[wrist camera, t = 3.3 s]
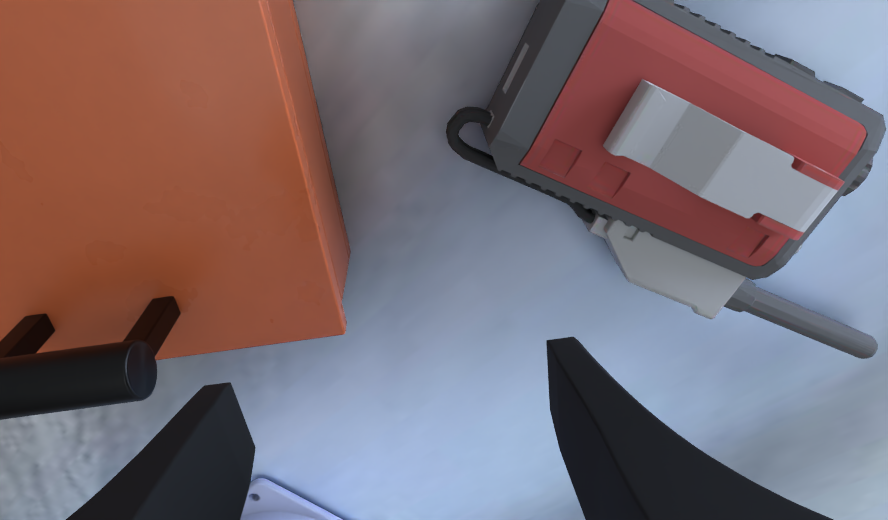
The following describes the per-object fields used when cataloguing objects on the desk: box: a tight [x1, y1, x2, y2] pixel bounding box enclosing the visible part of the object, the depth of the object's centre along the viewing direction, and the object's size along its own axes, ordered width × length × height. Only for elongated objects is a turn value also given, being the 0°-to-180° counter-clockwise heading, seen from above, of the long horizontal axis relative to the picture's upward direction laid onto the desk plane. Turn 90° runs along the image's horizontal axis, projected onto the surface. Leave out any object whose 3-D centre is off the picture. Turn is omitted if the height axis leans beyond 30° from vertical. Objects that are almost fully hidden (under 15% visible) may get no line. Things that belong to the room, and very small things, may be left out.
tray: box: [266, 0, 351, 301], centre depth 19 cm, size 11×14×4 cm
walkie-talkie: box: [446, 0, 886, 359], centre depth 20 cm, size 9×4×20 cm
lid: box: [0, 0, 347, 420], centre depth 15 cm, size 12×14×5 cm
